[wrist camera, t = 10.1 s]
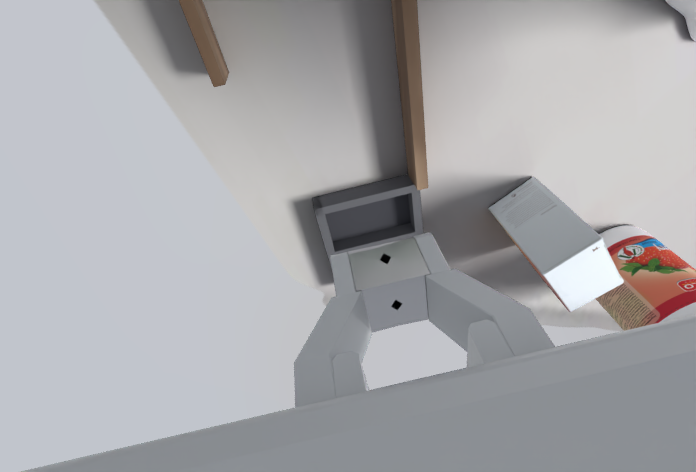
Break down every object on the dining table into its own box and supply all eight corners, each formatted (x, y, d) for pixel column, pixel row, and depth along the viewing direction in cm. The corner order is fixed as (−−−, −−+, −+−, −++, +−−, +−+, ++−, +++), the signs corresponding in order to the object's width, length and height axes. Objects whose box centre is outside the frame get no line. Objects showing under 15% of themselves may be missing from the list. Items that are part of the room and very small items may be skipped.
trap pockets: (413, 173, 36) (419, 183, 35) (420, 262, 44) (426, 273, 42) (312, 198, 36) (313, 209, 35) (337, 282, 44) (339, 295, 42)
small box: (486, 206, 41) (540, 274, 32) (533, 174, 39) (603, 236, 31) (515, 246, 45) (570, 314, 37) (559, 218, 43) (626, 283, 35)
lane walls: (370, -448, 17) (386, -510, 14) (418, 171, 36) (428, 187, 34) (45, -371, 17) (8, -421, 14) (270, 208, 36) (270, 226, 34)
